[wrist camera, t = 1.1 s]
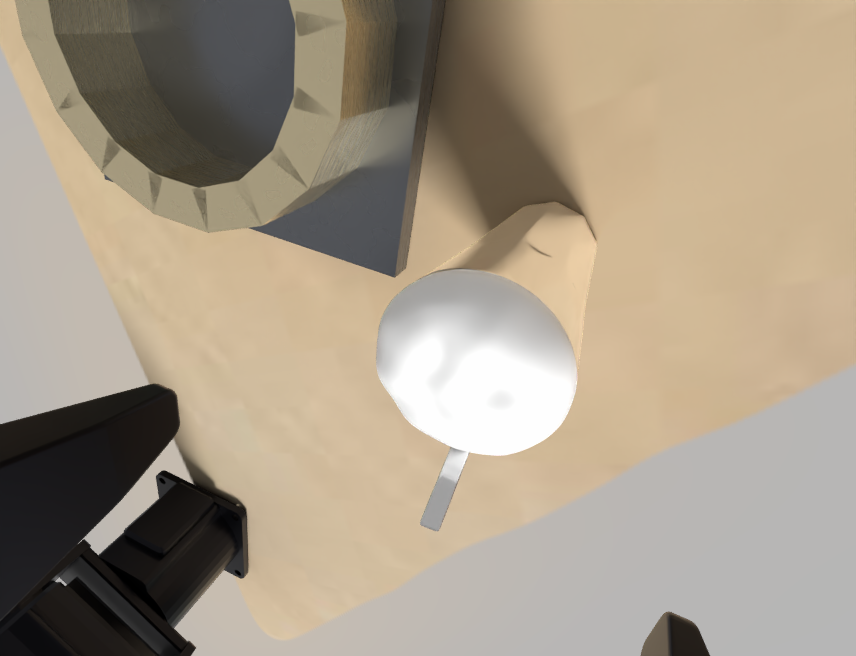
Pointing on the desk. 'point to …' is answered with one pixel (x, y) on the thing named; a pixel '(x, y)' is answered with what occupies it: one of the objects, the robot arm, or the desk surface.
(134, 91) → the collar station
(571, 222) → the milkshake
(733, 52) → the desk surface
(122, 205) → the desk surface
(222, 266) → the desk surface
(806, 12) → the desk surface
